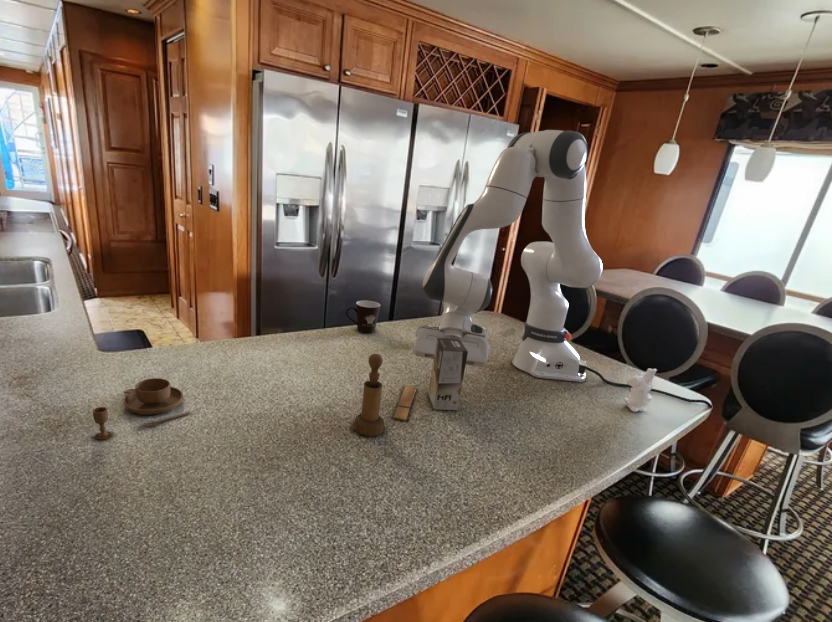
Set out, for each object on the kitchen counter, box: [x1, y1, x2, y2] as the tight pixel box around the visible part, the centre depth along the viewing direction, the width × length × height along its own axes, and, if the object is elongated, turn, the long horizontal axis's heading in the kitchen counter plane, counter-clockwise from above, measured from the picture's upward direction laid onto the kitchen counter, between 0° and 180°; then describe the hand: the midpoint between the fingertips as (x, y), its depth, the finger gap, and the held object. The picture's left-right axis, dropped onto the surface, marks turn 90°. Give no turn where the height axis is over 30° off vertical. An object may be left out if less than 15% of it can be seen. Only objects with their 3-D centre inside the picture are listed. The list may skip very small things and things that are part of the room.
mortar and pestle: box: [353, 353, 385, 437], centre depth 99 cm, size 7×6×18 cm
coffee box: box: [428, 338, 468, 411], centre depth 115 cm, size 9×6×16 cm
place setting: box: [92, 377, 189, 441], centre depth 99 cm, size 18×20×6 cm
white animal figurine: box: [623, 367, 658, 413], centre depth 124 cm, size 8×7×12 cm
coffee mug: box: [345, 300, 381, 335], centre depth 163 cm, size 12×9×10 cm
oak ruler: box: [392, 385, 417, 422], centre depth 116 cm, size 3×18×1 cm, turn 168°
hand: (446, 375), depth 122 cm, fingers closed
